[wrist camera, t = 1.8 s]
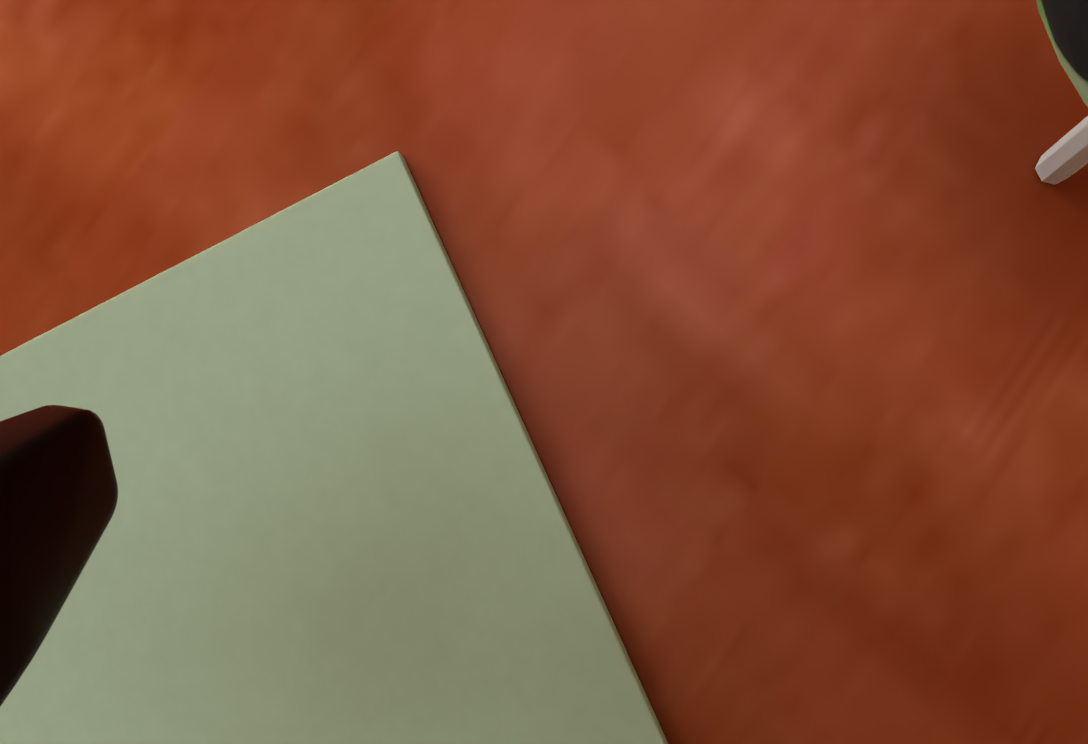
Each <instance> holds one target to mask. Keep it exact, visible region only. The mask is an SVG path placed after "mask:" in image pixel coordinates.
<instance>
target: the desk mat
mask: <svg viewBox="0 0 1088 744" xmlns="http://www.w3.org/2000/svg"><path fill="white" fill-rule="evenodd" d="M46 405H61V406H67V407H74V408H81V409H87V410H90V411H92V412H94V413H96V414H97V415H98V416H99V418H100V419H101V421H102V422H103V425H104V428H105V432H106V437H107V441H108V445H109V450H110V454H111V458H112V463H113V467H114V471H115V476H116V480H117V485H118V500H117V505H116V508H115V511H114V514H113V516H112V518H111V520H110V522H109V524H108V525H107V527H106V529H105V531H104V533H103V534H102V536H101V538H100V540H99V542H98V544H97V545H96V547H95V549H94V551H93V553H92V554H91V556H90V558H89V560H88V562H87V563H86V565H85V567H84V569H83V571H82V572H81V574H80V576H79V578H78V580H77V581H76V583H75V585H74V587H73V589H72V590H71V592H70V594H69V596H68V598H67V599H66V601H65V603H64V605H63V607H62V608H61V610H60V612H59V614H58V616H57V617H56V619H55V621H54V623H53V625H52V626H51V628H50V630H49V632H48V634H47V635H46V637H45V639H44V641H43V642H42V644H41V646H40V647H39V649H38V651H37V652H36V654H35V656H34V657H33V659H32V661H31V662H30V664H29V665H28V667H27V668H26V670H25V671H24V673H23V674H22V676H21V677H20V679H19V681H18V682H17V684H16V685H15V687H14V688H13V689H12V691H11V692H10V694H9V695H8V697H7V698H6V699H5V701H4V702H3V704H2V705H1V707H0V744H668V742H667V740H666V738H665V735H664V733H663V731H662V729H661V727H660V724H659V722H658V720H657V718H656V716H655V713H654V711H653V709H652V707H651V704H650V702H649V700H648V698H647V696H646V693H645V691H644V689H643V687H642V685H641V682H640V680H639V678H638V676H637V673H636V671H635V669H634V667H633V665H632V662H631V660H630V658H629V656H628V653H627V651H626V649H625V647H624V645H623V642H622V640H621V638H620V636H619V634H618V631H617V629H616V627H615V625H614V622H613V620H612V618H611V616H610V614H609V611H608V609H607V607H606V605H605V603H604V600H603V598H602V596H601V594H600V591H599V589H598V587H597V585H596V583H595V580H594V578H593V576H592V574H591V572H590V569H589V567H588V565H587V563H586V560H585V558H584V556H583V554H582V552H581V549H580V547H579V545H578V543H577V540H576V538H575V536H574V534H573V532H572V529H571V527H570V525H569V523H568V521H567V518H566V516H565V514H564V512H563V509H562V507H561V505H560V503H559V501H558V498H557V496H556V494H555V492H554V490H553V487H552V485H551V483H550V481H549V478H548V476H547V474H546V472H545V470H544V467H543V465H542V463H541V461H540V459H539V456H538V454H537V452H536V450H535V447H534V445H533V443H532V441H531V439H530V436H529V434H528V432H527V430H526V428H525V425H524V423H523V421H522V419H521V416H520V414H519V412H518V410H517V408H516V405H515V403H514V401H513V399H512V396H511V394H510V392H509V390H508V388H507V385H506V383H505V381H504V379H503V377H502V374H501V372H500V370H499V368H498V365H497V363H496V361H495V359H494V357H493V354H492V352H491V350H490V348H489V346H488V343H487V341H486V339H485V337H484V334H483V332H482V330H481V328H480V326H479V323H478V321H477V319H476V317H475V315H474V312H473V310H472V308H471V306H470V303H469V301H468V299H467V297H466V295H465V292H464V290H463V288H462V286H461V283H460V281H459V279H458V277H457V275H456V272H455V270H454V268H453V266H452V264H451V261H450V259H449V257H448V255H447V252H446V250H445V248H444V246H443V244H442V241H441V239H440V237H439V235H438V233H437V230H436V228H435V226H434V224H433V221H432V219H431V217H430V215H429V213H428V210H427V208H426V206H425V204H424V202H423V199H422V197H421V195H420V193H419V190H418V188H417V186H416V184H415V182H414V179H413V177H412V175H411V173H410V171H409V168H408V166H407V164H406V162H405V159H404V157H403V156H402V155H401V154H400V153H399V152H394V153H392V154H391V155H389V156H387V157H385V158H383V159H381V160H379V161H377V162H375V163H373V164H371V165H369V166H367V167H365V168H363V169H362V170H360V171H358V172H356V173H354V174H352V175H350V176H348V177H346V178H344V179H342V180H340V181H338V182H336V183H334V184H332V185H331V186H329V187H327V188H325V189H323V190H321V191H319V192H317V193H315V194H313V195H311V196H309V197H307V198H305V199H303V200H301V201H300V202H298V203H296V204H294V205H292V206H290V207H288V208H286V209H284V210H282V211H280V212H278V213H276V214H274V215H272V216H271V217H269V218H267V219H265V220H263V221H261V222H259V223H257V224H255V225H253V226H251V227H249V228H247V229H245V230H243V231H241V232H240V233H238V234H236V235H234V236H232V237H230V238H228V239H226V240H224V241H222V242H220V243H218V244H216V245H214V246H212V247H210V248H209V249H207V250H205V251H203V252H201V253H199V254H197V255H195V256H193V257H191V258H189V259H187V260H185V261H183V262H181V263H180V264H178V265H176V266H174V267H172V268H170V269H168V270H166V271H164V272H162V273H160V274H158V275H156V276H154V277H152V278H150V279H149V280H147V281H145V282H143V283H141V284H139V285H137V286H135V287H133V288H131V289H129V290H127V291H125V292H123V293H121V294H119V295H118V296H116V297H114V298H112V299H110V300H108V301H106V302H104V303H102V304H100V305H98V306H96V307H94V308H92V309H90V310H89V311H87V312H85V313H83V314H81V315H79V316H77V317H75V318H73V319H71V320H69V321H67V322H65V323H63V324H61V325H59V326H58V327H56V328H54V329H52V330H50V331H48V332H46V333H44V334H42V335H40V336H38V337H36V338H34V339H32V340H30V341H28V342H27V343H25V344H23V345H21V346H19V347H17V348H15V349H13V350H11V351H9V352H7V353H5V354H3V355H1V356H0V421H2V420H5V419H8V418H11V417H14V416H16V415H19V414H22V413H25V412H28V411H31V410H34V409H36V408H39V407H42V406H46Z"/></svg>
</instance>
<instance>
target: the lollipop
mask: <svg viewBox="0 0 1088 744" xmlns="http://www.w3.org/2000/svg"><path fill="white" fill-rule="evenodd" d="M1036 1H1037V7H1038V11H1039V14H1040V16H1041V19H1042V21H1043V23H1044V26H1045V28H1046V31H1047V33H1048V36H1049V38H1050V40H1051V43H1052V45H1053V48H1054V50H1055V53H1056V55H1057V57H1058V60H1059V62H1060V64H1061V66H1062V67H1063V69H1064V70H1065V72H1066V74H1067V75H1068V77H1069V79H1070V80H1071V82H1072V83H1073V85H1074V87H1075V88H1076V90H1077V92H1078V93H1079V95H1080V96H1081V98H1082V100H1083V101H1084V103H1085V104H1086V105H1087V107H1088V0H1036ZM1086 164H1088V116H1087V117H1085V118H1084V119H1083V120H1082V121H1081V122H1080V123H1079V124H1077V125H1076V126H1075V127H1074V128H1073V129H1072V130H1070V131H1069V132H1068V133H1067V134H1066V135H1065V136H1063V137H1062V138H1061V139H1060V140H1059V141H1058V142H1056V143H1055V144H1054V145H1053V146H1052V147H1051V148H1049V149H1048V150H1047V151H1046V152H1045V153H1044V154H1043V155H1041V157H1040V159H1039V161H1038V163H1037V165H1036V167H1035V170H1036V172H1037V174H1038V176H1039V177H1040V179H1041V181H1042V182H1046V183H1050V184H1054V185H1055V184H1058V183H1060V182H1062V181H1064V180H1066V179H1067V178H1069V177H1070V176H1071V175H1073V174H1074V173H1075V172H1077V171H1078V170H1080V169H1081V168H1082V167H1084V166H1085V165H1086Z"/></svg>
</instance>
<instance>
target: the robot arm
mask: <svg viewBox="0 0 1088 744" xmlns="http://www.w3.org/2000/svg"><path fill="white" fill-rule="evenodd" d="M117 500H118V485H117V480H116V476H115V471H114V467H113V463H112V458H111V454H110V450H109V445H108V441H107V437H106V432H105V428H104V425H103V422H102V421H101V419H100V418H99V416H98V415H97V414H96V413H94V412H92V411H90V410H87V409H81V408H74V407H67V406H61V405H46V406H42V407H39V408H36V409H34V410H31V411H28V412H25V413H22V414H19V415H16V416H14V417H11V418H8V419H5V420H2V421H0V707H1V705H2V704H3V702H4V701H5V699H6V698H7V697H8V695H9V694H10V692H11V691H12V689H13V688H14V687H15V685H16V684H17V682H18V681H19V679H20V677H21V676H22V674H23V673H24V671H25V670H26V668H27V667H28V665H29V664H30V662H31V661H32V659H33V657H34V656H35V654H36V652H37V651H38V649H39V647H40V646H41V644H42V642H43V641H44V639H45V637H46V635H47V634H48V632H49V630H50V628H51V626H52V625H53V623H54V621H55V619H56V617H57V616H58V614H59V612H60V610H61V608H62V607H63V605H64V603H65V601H66V599H67V598H68V596H69V594H70V592H71V590H72V589H73V587H74V585H75V583H76V581H77V580H78V578H79V576H80V574H81V572H82V571H83V569H84V567H85V565H86V563H87V562H88V560H89V558H90V556H91V554H92V553H93V551H94V549H95V547H96V545H97V544H98V542H99V540H100V538H101V536H102V534H103V533H104V531H105V529H106V527H107V525H108V524H109V522H110V520H111V518H112V516H113V514H114V511H115V508H116V505H117Z"/></svg>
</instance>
